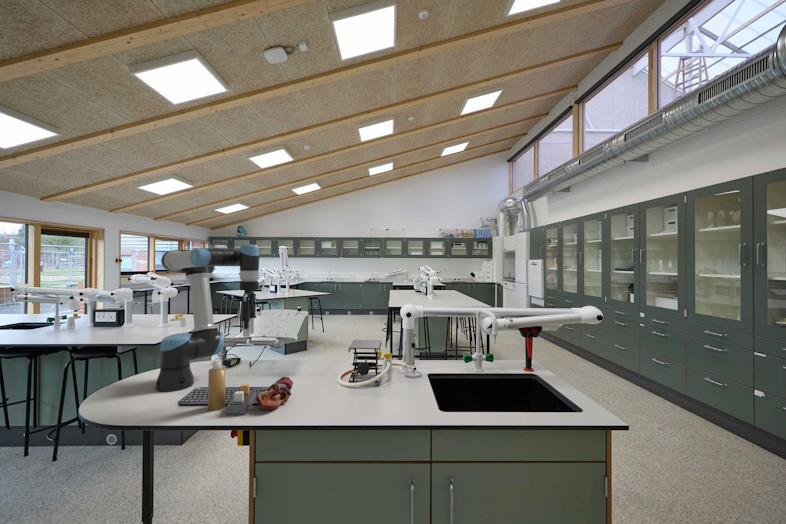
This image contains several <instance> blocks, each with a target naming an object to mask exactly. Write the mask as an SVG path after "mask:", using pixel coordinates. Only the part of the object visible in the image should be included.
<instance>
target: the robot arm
mask: <svg viewBox="0 0 786 524" xmlns="http://www.w3.org/2000/svg"><path fill="white" fill-rule="evenodd" d="M160 260H161V261H160V263H161V265H162V267H163V268H164V269H165V270H166V271H168V272H171V273H175V274H185V278H186V279H188V281H189V286H190V287H189V288H190V296H191V306H192V316H193V324H194V325H193V329H192V330H191V333H189V332H179V333H174V334H171V335H168V336H165V337H164V338H162V339H161V342H160V348H159V351H160V361H159V363H160V366H159V367H160V370H159V373H158V377H157V379H156V381H155V388H154V389H155V390H156V391H158V392H176V391H180V390H185V389H188V388H189V387H192V386H193V385H194V384H195V378H194V374H193V372H192V370H191V369H192V368H191V361H193V360H199V359H203V358H209V357H213V356H217V355H218V354H220V353H221V352H222V350H223V348H224V345H225V337H224V336H225V335H224V333H223V332H222V331H220V330H219V328H218V326H216V325H215V322H214V313H213V306H212V305H213V304H212V296H211V286H210V278H211V276H213V275H212V274H213V273H214V271H215V270H216V267H239V272H238V275H239V280H240V281H239V290H240V291H244V294H243V295H242V296H241V319H240V321H241V322H242V337H243V338H244V337H251V334H255V319H257V314H256V299H257V298H256V297H257V296H256V295H257V294H256V293H255V291H257V290H259V289H260V287H259V286H260V283H259V281H258V280H260V270H259V269H260V246H259V245H258V244H253V243H252V244H250V243H249V244H245V243H244V244H241V245H240V248H238V249H237V248H235V249H234V248H214V247H213V248H212V247H211V248H210V247H208V248H207V247H195V248H193V249H181V248H180V249H178V248H177V249H170V250H168V251H166V252H164V253H163V254H162V256H161V259H160Z"/></svg>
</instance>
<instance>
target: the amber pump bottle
mask: <svg viewBox="0 0 786 524" xmlns="http://www.w3.org/2000/svg"><path fill="white" fill-rule="evenodd" d="M207 379H208V381H207V382H208V383H207V386H208V389H207V395H208V397H207V399H208V400H207V409H208V411H210V412H211V411H213V412H215V411H221V410H223V409H224V408H226V368H225V367H222V361H220V360H217V361H213V362H212V368H210V369H209V370H208V378H207Z"/></svg>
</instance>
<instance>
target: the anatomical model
mask: <svg viewBox="0 0 786 524" xmlns="http://www.w3.org/2000/svg"><path fill="white" fill-rule="evenodd" d="M293 385H294V381H292V379H290V377H288V376H285V375H283V376H282V377H280V378H279V379H278V380H276V381H275V382H273V383H272V384H271V385H270V386H269V387H268V388H267V389H266V390H265V391H263V392H262V391H261V392H259V393H258V394H256V399H255V400H256V402H257V404H258V405H259V406H260V407H261V408H262V409H263V410H264V409H265V410H276V409H278V408H279V407H280V406H281V405H282V404H284V403H287V402H288V400H289V398H290V396H292V391H291V390H292V389H293Z"/></svg>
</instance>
